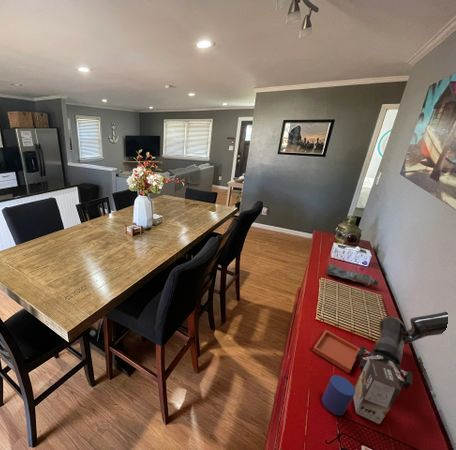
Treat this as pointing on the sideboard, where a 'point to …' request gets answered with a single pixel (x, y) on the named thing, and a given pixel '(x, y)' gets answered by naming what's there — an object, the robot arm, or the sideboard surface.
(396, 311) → the sideboard surface
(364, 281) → the dark stone rod
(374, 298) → the sideboard surface
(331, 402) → the blue tin
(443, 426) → the sideboard surface
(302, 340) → the sideboard surface
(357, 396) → the coffee box
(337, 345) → the tray
